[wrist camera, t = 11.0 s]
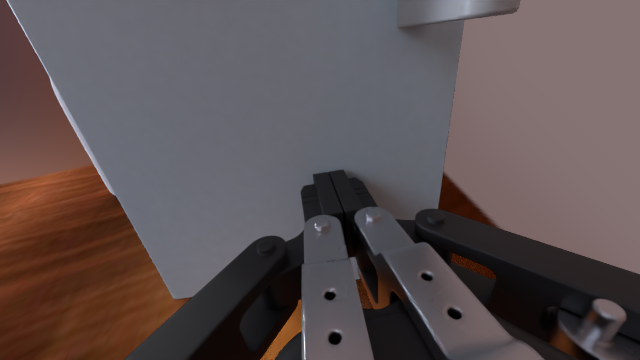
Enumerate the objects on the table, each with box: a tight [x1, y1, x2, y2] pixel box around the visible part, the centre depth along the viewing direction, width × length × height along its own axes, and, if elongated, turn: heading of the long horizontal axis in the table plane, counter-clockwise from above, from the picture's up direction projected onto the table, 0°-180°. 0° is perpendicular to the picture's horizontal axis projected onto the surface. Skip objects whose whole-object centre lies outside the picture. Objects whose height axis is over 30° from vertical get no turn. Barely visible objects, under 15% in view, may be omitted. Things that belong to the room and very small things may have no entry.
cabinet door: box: [7, 0, 520, 299], centre depth 9 cm, size 6×16×22 cm, turn 93°
